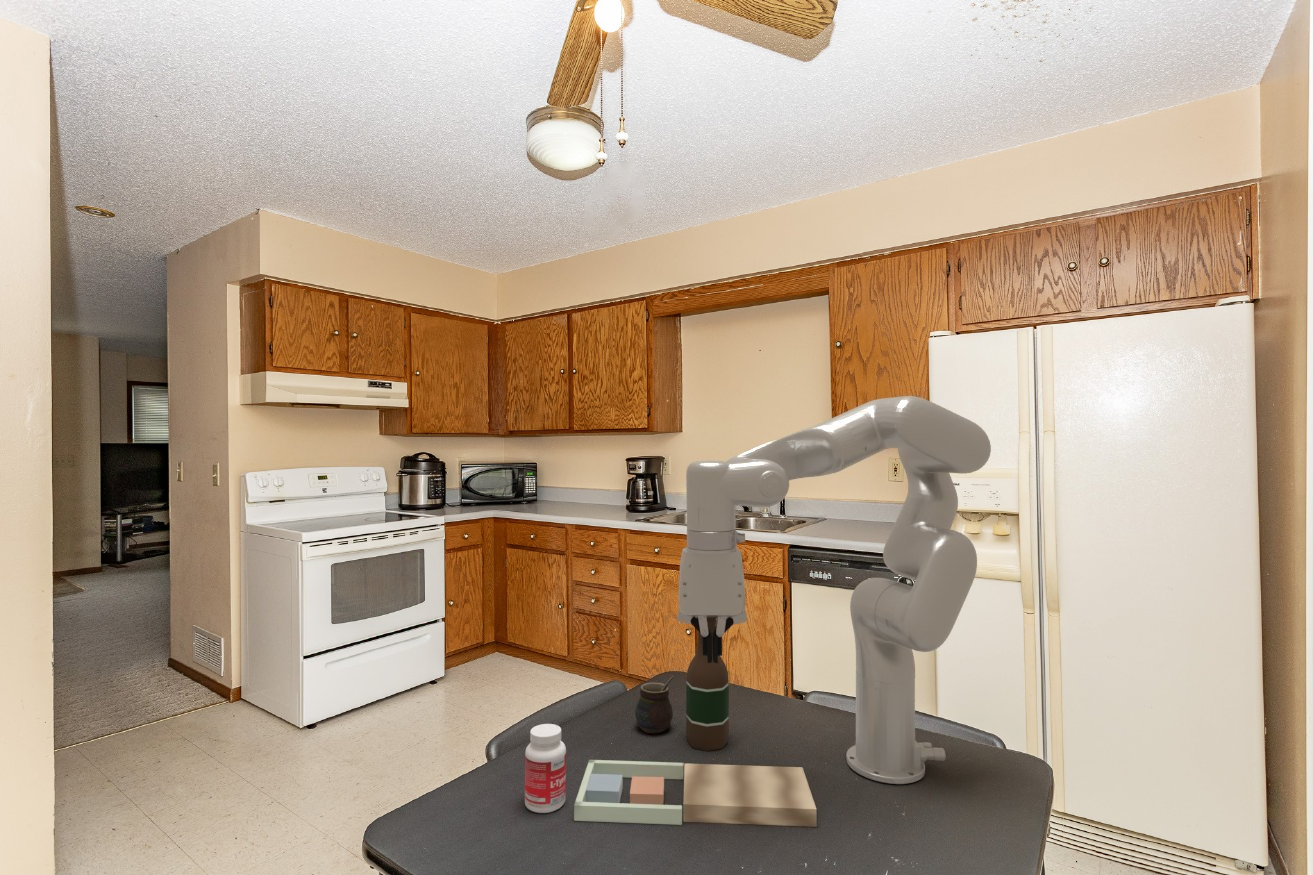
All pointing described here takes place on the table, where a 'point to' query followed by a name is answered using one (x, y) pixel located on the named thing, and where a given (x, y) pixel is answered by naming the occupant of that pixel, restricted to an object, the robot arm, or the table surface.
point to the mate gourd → (654, 707)
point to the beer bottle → (707, 699)
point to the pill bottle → (545, 769)
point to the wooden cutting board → (747, 795)
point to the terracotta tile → (647, 790)
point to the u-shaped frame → (625, 810)
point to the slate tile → (604, 788)
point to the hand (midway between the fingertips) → (712, 659)
